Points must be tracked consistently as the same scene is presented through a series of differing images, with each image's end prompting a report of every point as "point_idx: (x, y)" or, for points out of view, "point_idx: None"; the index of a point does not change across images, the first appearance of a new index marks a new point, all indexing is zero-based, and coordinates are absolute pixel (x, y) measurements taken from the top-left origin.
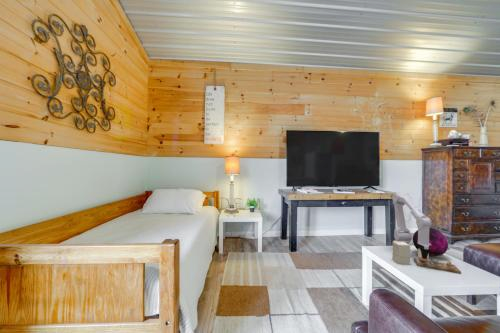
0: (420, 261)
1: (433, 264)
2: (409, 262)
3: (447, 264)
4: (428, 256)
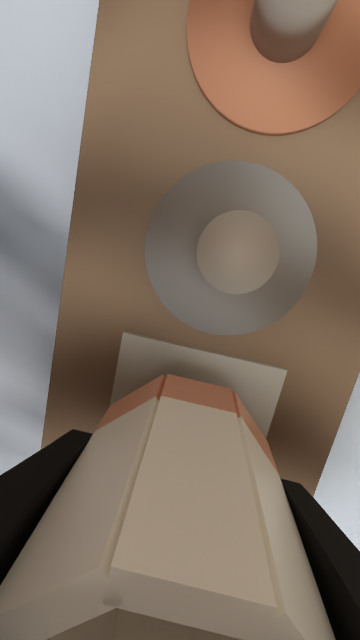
0: None
1: (276, 315)
2: None
3: (306, 37)
4: (245, 443)
